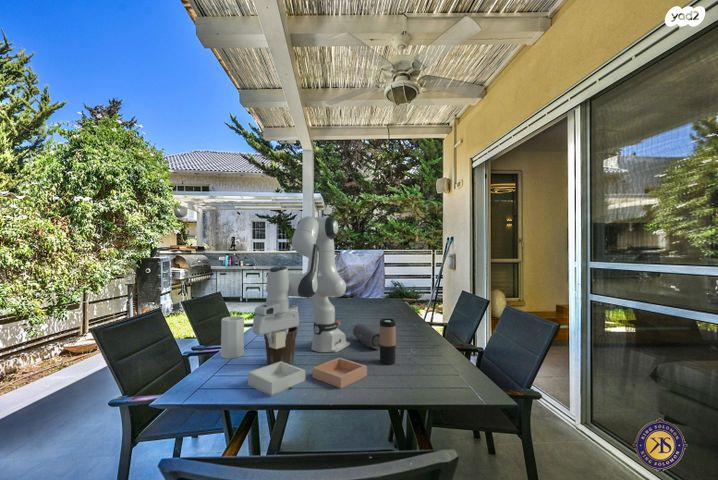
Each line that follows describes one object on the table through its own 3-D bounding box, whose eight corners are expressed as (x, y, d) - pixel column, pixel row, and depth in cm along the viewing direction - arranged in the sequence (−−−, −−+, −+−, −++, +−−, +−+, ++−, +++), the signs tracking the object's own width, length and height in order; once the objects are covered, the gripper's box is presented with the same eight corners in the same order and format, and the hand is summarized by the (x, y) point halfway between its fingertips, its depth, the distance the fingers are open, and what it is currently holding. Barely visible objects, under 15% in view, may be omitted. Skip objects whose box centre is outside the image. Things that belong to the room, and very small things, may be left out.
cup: (247, 352, 168) (248, 316, 168) (237, 359, 157) (238, 321, 157) (227, 351, 169) (228, 315, 170) (216, 358, 158) (216, 320, 158)
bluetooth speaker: (351, 340, 189) (352, 323, 190) (366, 338, 193) (366, 322, 194) (369, 352, 169) (369, 333, 169) (384, 349, 173) (384, 331, 173)
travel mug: (376, 363, 153) (377, 320, 153) (383, 358, 159) (383, 317, 160) (392, 366, 149) (392, 322, 149) (397, 361, 156) (398, 319, 156)
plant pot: (289, 370, 143) (289, 334, 143) (255, 368, 146) (256, 332, 146) (302, 358, 159) (303, 325, 159) (272, 356, 162) (272, 323, 162)
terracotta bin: (339, 368, 146) (339, 357, 146) (366, 377, 136) (366, 365, 136) (312, 379, 133) (312, 367, 134) (340, 390, 123) (341, 377, 123)
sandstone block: (278, 344, 133) (278, 329, 133) (285, 346, 130) (285, 331, 130) (269, 346, 129) (269, 331, 129) (275, 349, 126) (276, 333, 127)
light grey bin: (281, 372, 141) (281, 361, 141) (305, 382, 130) (305, 370, 131) (247, 384, 128) (248, 372, 128) (271, 396, 118) (271, 383, 118)
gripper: (293, 302, 140) (292, 334, 140) (250, 309, 124) (250, 345, 124) (302, 304, 136) (302, 337, 136) (260, 311, 120) (259, 348, 120)
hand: (277, 341), depth 130 cm, fingers closed on sandstone block, 4 cm apart
